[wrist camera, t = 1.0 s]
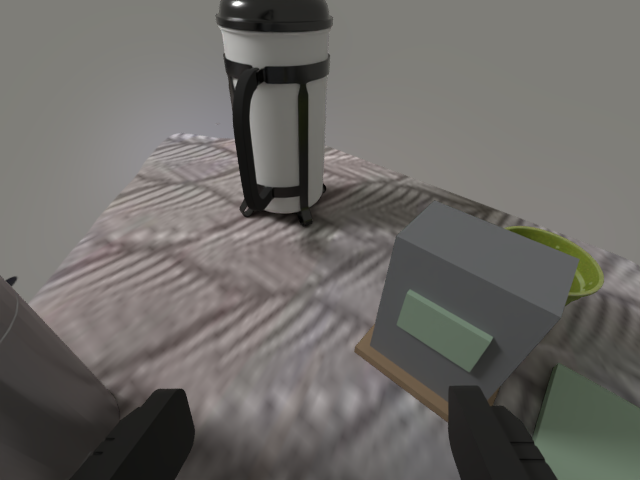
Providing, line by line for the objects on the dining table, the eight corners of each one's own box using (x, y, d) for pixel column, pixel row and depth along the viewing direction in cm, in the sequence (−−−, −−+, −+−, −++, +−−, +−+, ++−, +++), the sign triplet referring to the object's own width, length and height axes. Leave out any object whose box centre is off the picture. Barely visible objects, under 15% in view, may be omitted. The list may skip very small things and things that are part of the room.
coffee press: (221, 191, 53) (170, -52, 33) (307, 172, 58) (307, -44, 39) (254, 255, 41) (205, -59, 22) (356, 224, 47) (392, -47, 27)
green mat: (522, 471, 24) (528, 467, 23) (553, 367, 30) (558, 362, 30) (719, 618, 19) (734, 618, 18) (706, 455, 25) (716, 451, 24)
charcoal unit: (354, 351, 31) (376, 236, 21) (395, 303, 36) (428, 190, 26) (474, 442, 25) (579, 341, 16) (504, 370, 30) (600, 258, 20)
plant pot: (507, 272, 40) (540, 218, 34) (574, 334, 33) (629, 279, 28) (446, 291, 37) (471, 235, 32) (507, 361, 31) (552, 307, 25)
